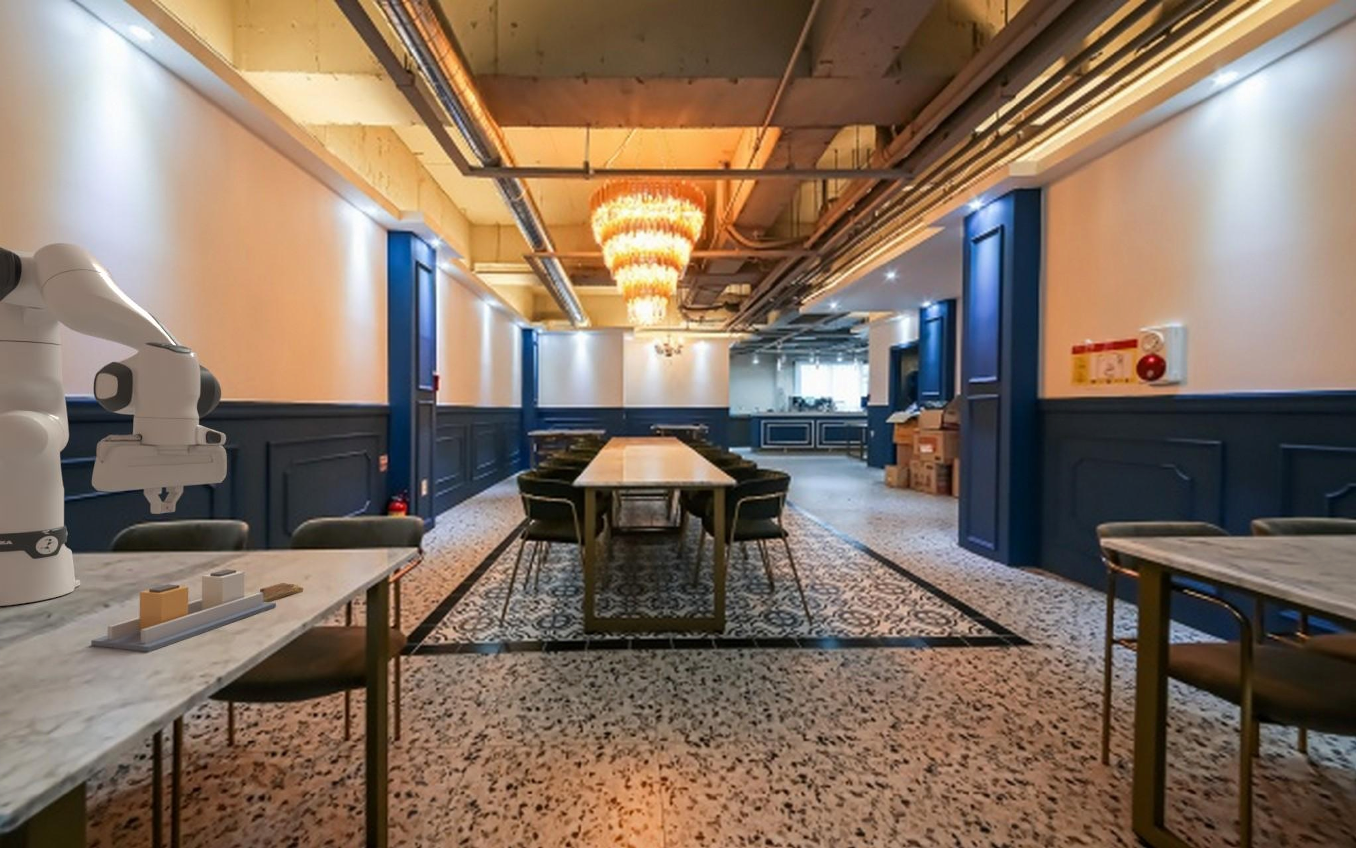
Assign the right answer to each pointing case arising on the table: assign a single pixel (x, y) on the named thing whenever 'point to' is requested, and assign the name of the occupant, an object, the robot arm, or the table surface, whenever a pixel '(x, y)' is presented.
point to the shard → (279, 591)
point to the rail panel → (191, 615)
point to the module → (162, 605)
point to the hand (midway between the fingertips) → (162, 512)
